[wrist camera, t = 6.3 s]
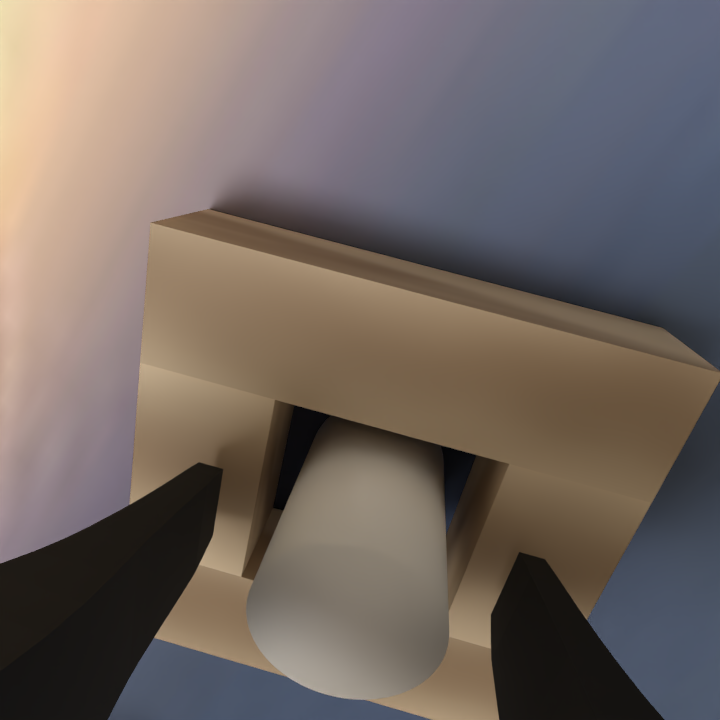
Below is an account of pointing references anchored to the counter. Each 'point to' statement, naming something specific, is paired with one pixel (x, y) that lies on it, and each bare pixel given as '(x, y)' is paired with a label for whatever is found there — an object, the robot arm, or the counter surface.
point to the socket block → (401, 418)
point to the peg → (357, 567)
